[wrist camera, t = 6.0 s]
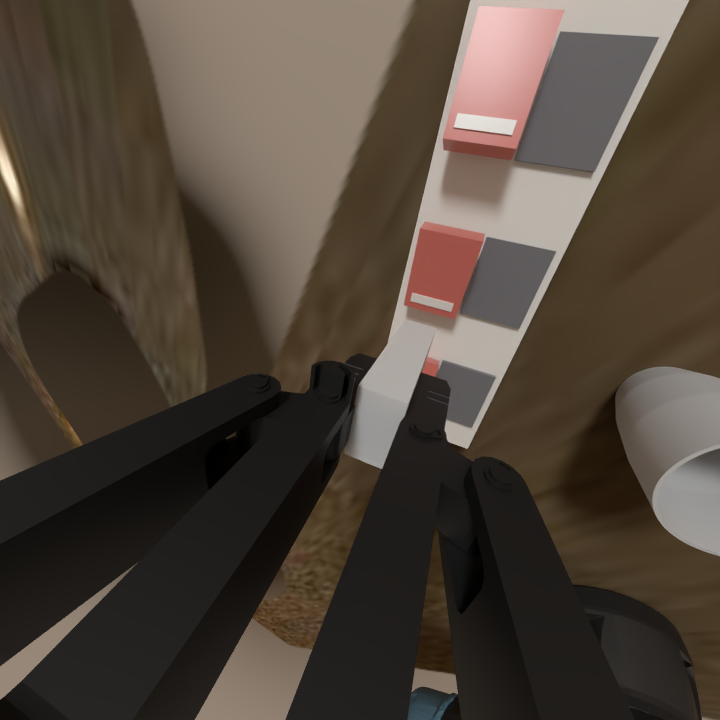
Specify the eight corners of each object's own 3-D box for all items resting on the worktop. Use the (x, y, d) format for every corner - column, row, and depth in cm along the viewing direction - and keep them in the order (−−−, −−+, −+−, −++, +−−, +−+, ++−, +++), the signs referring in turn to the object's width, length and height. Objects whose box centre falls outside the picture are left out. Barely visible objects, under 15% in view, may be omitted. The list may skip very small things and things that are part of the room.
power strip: (449, 462, 32) (445, 495, 28) (371, 433, 34) (359, 459, 30) (659, 11, 15) (716, -52, 11) (480, 4, 17) (482, -53, 13)
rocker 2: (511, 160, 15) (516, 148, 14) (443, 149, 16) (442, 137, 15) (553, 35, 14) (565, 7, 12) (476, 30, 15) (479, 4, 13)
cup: (631, 453, 25) (711, 576, 16) (568, 386, 24) (617, 478, 16) (760, 406, 21) (958, 540, 12) (687, 324, 20) (840, 404, 12)
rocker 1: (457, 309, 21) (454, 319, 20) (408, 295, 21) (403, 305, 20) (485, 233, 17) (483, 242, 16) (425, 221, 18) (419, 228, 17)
